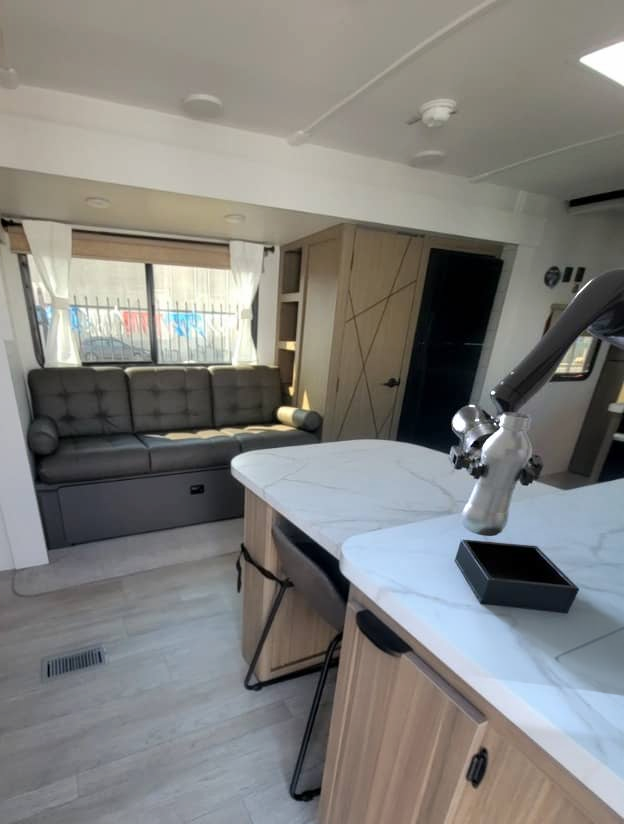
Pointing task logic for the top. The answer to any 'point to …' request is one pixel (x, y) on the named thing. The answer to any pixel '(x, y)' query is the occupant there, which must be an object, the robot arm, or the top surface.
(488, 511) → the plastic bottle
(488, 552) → the dark square tray
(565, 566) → the top surface
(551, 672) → the top surface
